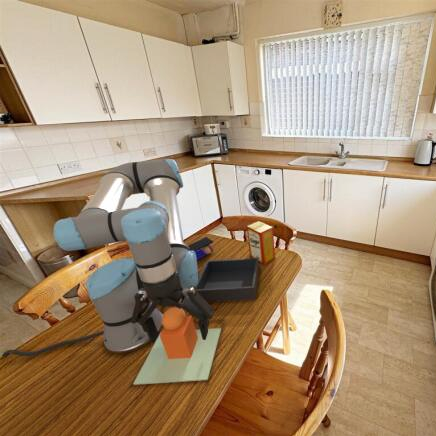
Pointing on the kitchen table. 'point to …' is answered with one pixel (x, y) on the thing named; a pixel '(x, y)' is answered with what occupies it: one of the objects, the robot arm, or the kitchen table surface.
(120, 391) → the kitchen table surface
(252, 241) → the baking soda box
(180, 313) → the orange round-topped block
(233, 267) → the basket
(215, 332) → the mat
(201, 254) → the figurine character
